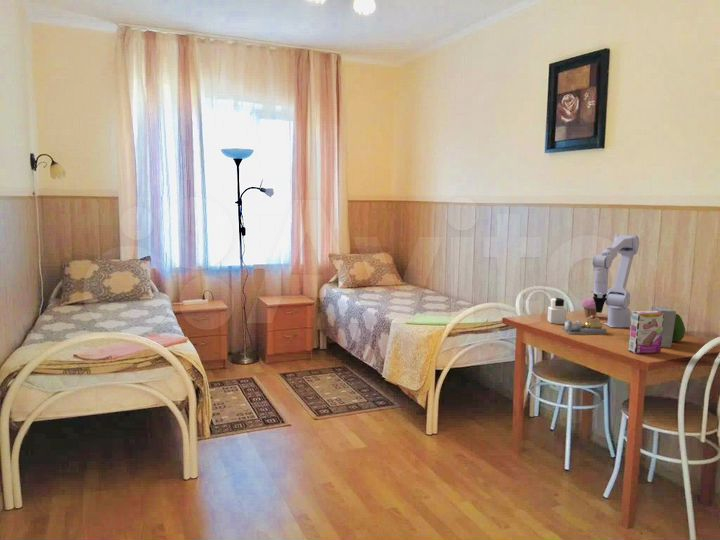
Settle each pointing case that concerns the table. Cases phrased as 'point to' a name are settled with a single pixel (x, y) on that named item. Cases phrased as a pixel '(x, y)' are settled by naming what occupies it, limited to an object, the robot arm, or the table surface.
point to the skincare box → (666, 324)
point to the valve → (593, 323)
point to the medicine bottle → (557, 311)
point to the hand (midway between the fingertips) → (599, 310)
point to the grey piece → (580, 328)
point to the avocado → (678, 329)
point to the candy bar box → (646, 332)
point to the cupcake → (589, 307)
